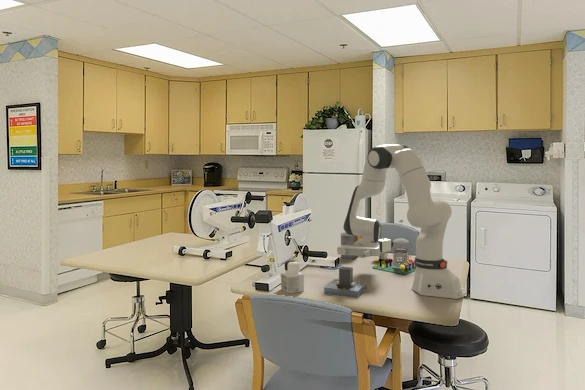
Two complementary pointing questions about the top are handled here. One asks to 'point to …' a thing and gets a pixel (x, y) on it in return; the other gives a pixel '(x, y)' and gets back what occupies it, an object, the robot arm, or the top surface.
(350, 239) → the pillar candle
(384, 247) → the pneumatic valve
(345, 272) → the block
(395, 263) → the french press
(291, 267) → the container
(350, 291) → the plate
